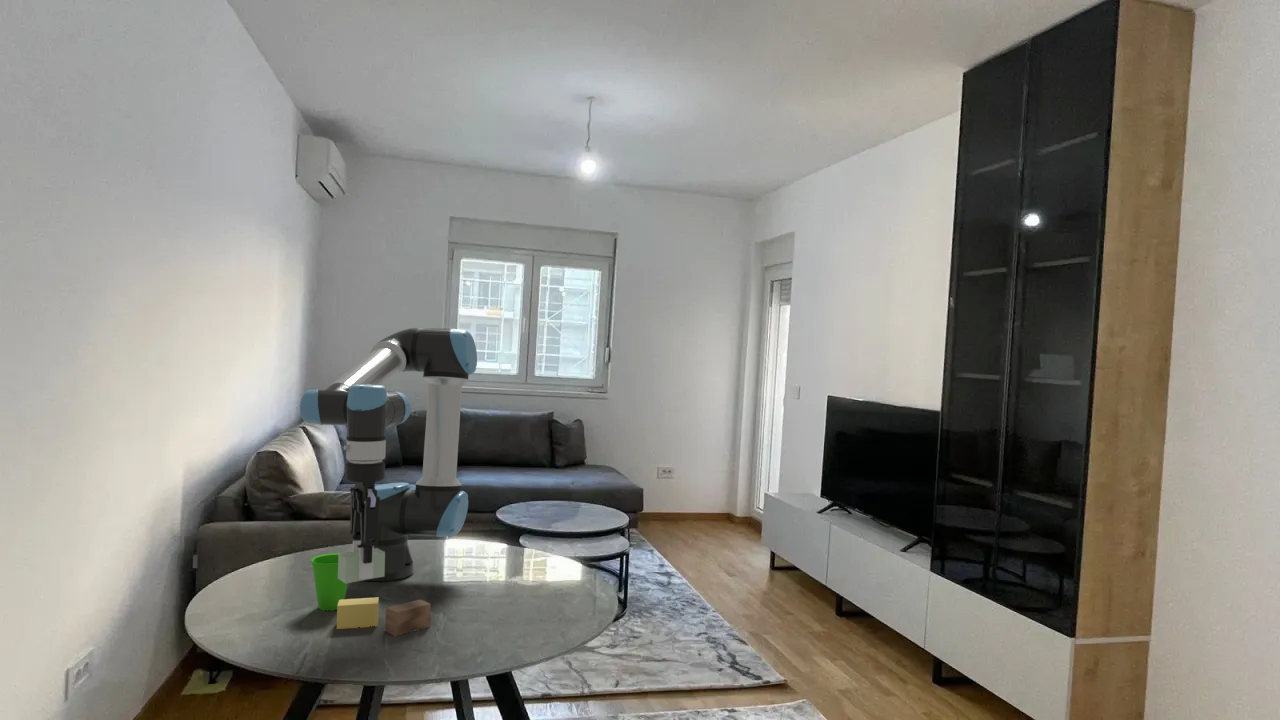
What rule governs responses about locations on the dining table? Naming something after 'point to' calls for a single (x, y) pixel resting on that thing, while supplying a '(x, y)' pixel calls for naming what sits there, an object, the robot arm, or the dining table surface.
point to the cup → (328, 581)
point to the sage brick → (350, 566)
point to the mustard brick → (357, 613)
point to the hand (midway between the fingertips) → (362, 574)
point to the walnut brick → (407, 617)
